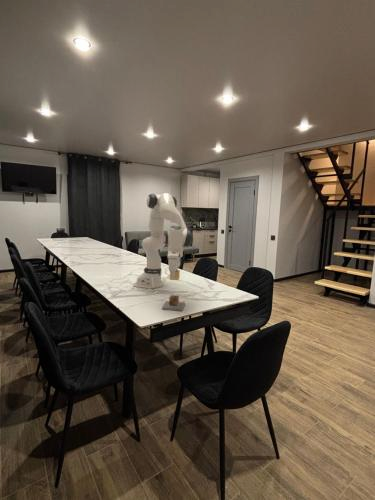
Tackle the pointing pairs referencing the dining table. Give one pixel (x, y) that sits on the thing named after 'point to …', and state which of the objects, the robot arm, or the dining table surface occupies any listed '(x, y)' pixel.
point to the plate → (178, 308)
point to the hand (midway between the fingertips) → (174, 276)
